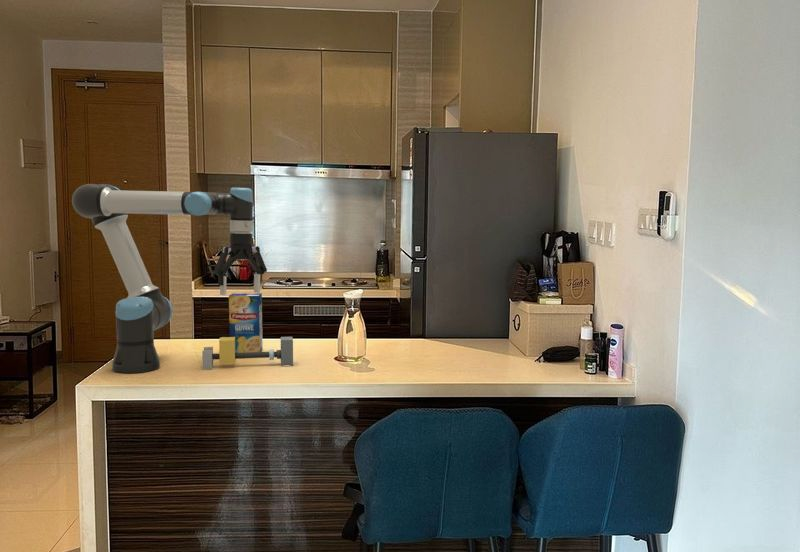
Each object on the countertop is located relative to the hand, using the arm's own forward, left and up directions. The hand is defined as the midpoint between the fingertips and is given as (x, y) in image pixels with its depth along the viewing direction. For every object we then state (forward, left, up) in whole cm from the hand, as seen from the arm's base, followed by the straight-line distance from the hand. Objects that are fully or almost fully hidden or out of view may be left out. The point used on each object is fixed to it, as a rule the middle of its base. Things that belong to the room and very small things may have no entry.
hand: (240, 293), depth 255 cm
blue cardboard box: (+2, +13, -24) cm, 28 cm away
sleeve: (-4, -7, -22) cm, 24 cm away
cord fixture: (+3, -7, -24) cm, 25 cm away
